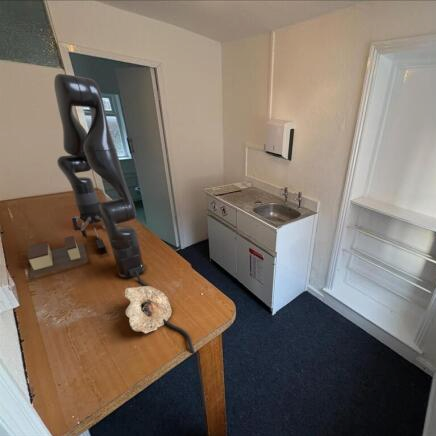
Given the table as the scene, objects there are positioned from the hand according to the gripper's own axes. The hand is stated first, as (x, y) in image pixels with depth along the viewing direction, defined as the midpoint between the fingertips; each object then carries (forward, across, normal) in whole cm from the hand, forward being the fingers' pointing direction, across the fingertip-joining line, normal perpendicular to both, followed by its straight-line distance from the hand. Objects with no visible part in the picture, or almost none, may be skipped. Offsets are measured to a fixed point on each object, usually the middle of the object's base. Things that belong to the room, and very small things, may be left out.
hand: (98, 234), depth 108 cm
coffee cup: (+10, +7, +27) cm, 29 cm away
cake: (+9, -20, +5) cm, 23 cm away
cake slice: (+9, -10, +5) cm, 14 cm away
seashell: (+12, +5, -54) cm, 56 cm away
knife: (+10, 0, +7) cm, 12 cm away
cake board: (+10, -15, +4) cm, 19 cm away
